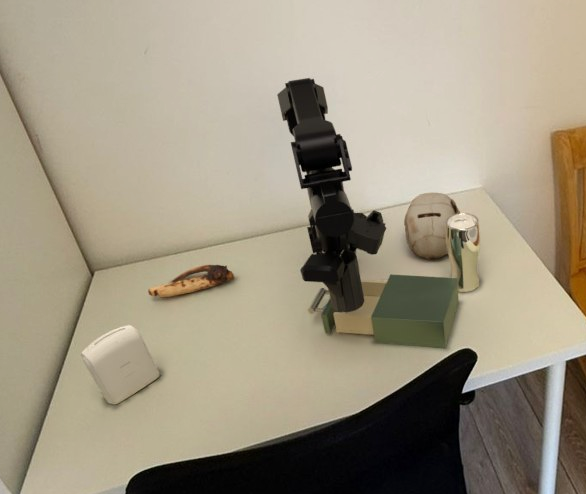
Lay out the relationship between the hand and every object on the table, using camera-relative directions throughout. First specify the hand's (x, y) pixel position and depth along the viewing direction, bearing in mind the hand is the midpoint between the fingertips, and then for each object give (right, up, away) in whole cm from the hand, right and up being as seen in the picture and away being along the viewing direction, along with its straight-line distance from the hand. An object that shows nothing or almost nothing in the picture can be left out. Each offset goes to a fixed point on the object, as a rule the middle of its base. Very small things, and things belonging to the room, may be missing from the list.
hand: (344, 287), depth 112 cm
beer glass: (+22, +2, +21) cm, 31 cm away
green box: (+13, -6, +12) cm, 19 cm away
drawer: (0, -4, +14) cm, 15 cm away
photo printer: (-39, -18, +4) cm, 43 cm away
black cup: (0, -3, +2) cm, 3 cm away
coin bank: (+16, +13, +35) cm, 41 cm away
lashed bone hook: (-38, +3, +29) cm, 47 cm away
